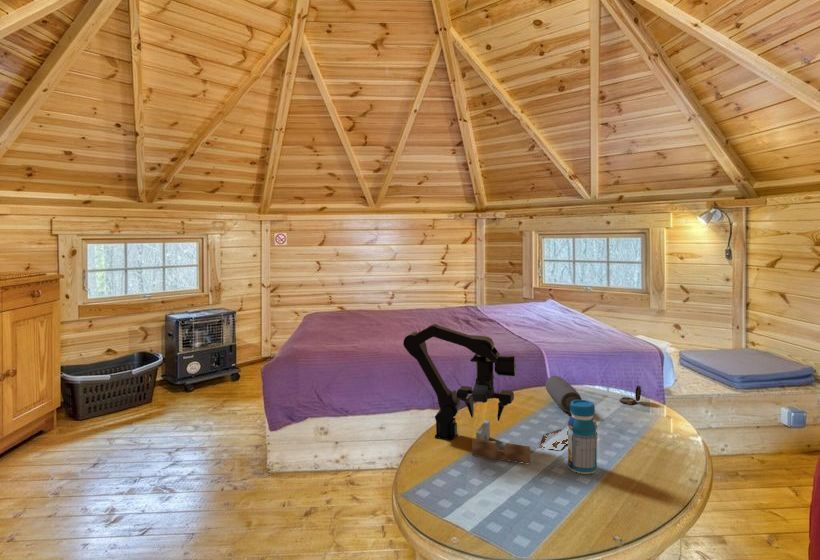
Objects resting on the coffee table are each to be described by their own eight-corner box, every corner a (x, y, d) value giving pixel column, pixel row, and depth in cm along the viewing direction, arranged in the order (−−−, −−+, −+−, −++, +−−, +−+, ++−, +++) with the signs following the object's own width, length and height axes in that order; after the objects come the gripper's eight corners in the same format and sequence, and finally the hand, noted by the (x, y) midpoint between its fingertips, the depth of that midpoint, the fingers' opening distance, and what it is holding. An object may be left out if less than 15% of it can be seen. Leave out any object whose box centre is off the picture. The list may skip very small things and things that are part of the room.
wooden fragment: (554, 455, 152) (554, 452, 152) (525, 444, 161) (525, 441, 161) (595, 433, 169) (595, 430, 169) (567, 424, 177) (567, 421, 177)
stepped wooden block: (472, 455, 153) (472, 440, 153) (473, 453, 155) (473, 438, 154) (529, 464, 146) (529, 448, 146) (530, 462, 147) (530, 446, 147)
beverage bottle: (583, 477, 137) (583, 409, 135) (561, 466, 144) (561, 401, 143) (603, 470, 141) (604, 404, 139) (581, 459, 148) (581, 396, 147)
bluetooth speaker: (584, 415, 185) (584, 390, 184) (559, 416, 185) (559, 391, 184) (565, 396, 208) (565, 374, 207) (544, 397, 208) (543, 374, 207)
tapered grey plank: (476, 450, 157) (476, 432, 156) (485, 436, 168) (485, 419, 167) (480, 451, 156) (480, 433, 156) (489, 437, 167) (489, 420, 166)
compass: (618, 399, 202) (618, 382, 202) (638, 400, 200) (639, 383, 200) (621, 405, 195) (621, 388, 194) (642, 407, 193) (642, 389, 192)
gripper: (451, 378, 160) (452, 423, 161) (507, 383, 152) (507, 431, 153) (461, 369, 170) (461, 412, 171) (514, 374, 162) (514, 419, 164)
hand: (485, 418), depth 164 cm, fingers open, 9 cm apart
